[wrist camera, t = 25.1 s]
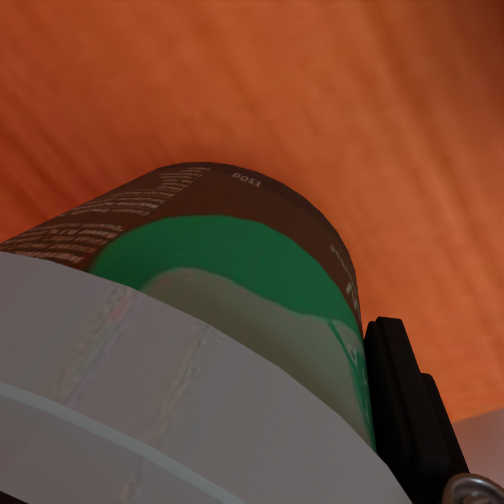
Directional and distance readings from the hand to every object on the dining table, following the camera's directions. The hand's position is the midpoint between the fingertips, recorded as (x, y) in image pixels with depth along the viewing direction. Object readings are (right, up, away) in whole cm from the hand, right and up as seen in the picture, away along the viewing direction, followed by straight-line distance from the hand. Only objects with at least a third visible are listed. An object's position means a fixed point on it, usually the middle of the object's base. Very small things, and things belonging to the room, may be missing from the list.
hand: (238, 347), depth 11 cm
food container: (+2, +2, +3) cm, 4 cm away
